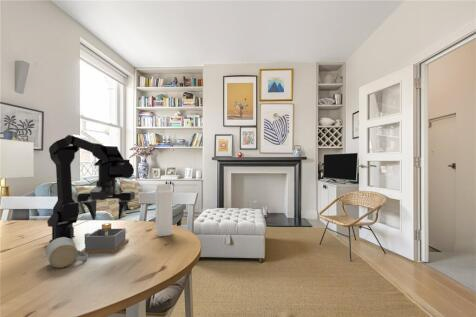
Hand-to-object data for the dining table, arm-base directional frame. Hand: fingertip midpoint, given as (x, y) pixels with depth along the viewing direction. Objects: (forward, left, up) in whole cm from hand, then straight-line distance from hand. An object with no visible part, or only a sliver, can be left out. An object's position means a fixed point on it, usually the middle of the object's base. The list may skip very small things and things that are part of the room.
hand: (107, 219), depth 92 cm
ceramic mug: (-6, -14, -11) cm, 19 cm away
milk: (+18, +15, -11) cm, 26 cm away
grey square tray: (0, 0, -10) cm, 10 cm away
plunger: (0, 0, -9) cm, 9 cm away
